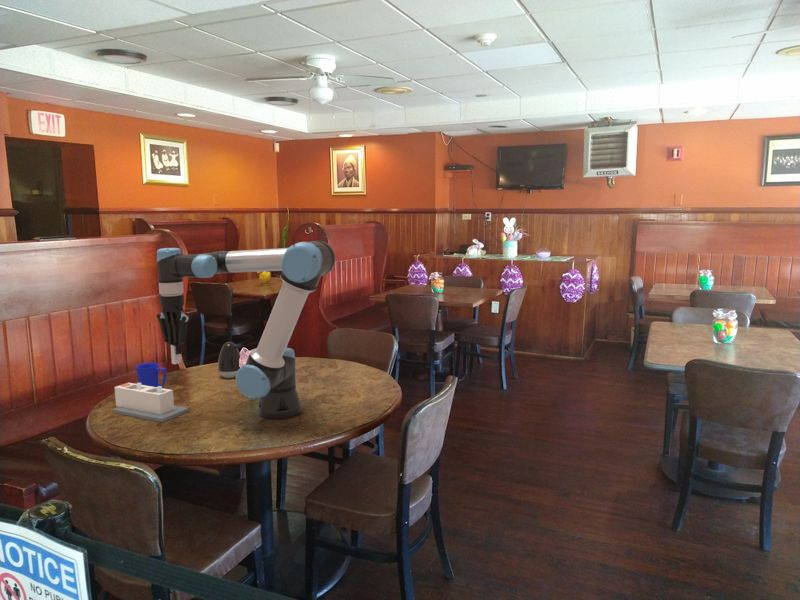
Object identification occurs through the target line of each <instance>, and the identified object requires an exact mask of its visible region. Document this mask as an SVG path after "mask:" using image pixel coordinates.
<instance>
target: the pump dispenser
mask: <svg viewBox="0 0 800 600" xmlns="http://www.w3.org/2000/svg"><path fill="white" fill-rule="evenodd" d="M240 347H242V344H241V343H239V344H235V343H234V342H231V341H228V342H225V343H224V344H223V345H222V347H221V350H220V353H219V355H218V359H217V361H218V362H217V370H218V372H219V374H220V375H221V377H223V378H225V379H234V378H235V379H236V373H237V371H238V370H239V369H240V367H239V358H240V356H241V354H240V351H239V348H240Z"/></svg>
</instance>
